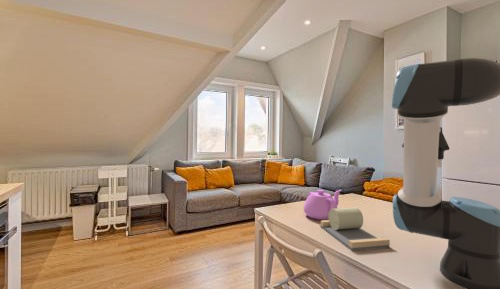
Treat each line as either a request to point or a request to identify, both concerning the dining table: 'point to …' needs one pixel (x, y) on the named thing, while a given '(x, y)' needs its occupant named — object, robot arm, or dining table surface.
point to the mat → (355, 238)
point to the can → (345, 218)
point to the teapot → (320, 204)
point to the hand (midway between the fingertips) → (422, 165)
